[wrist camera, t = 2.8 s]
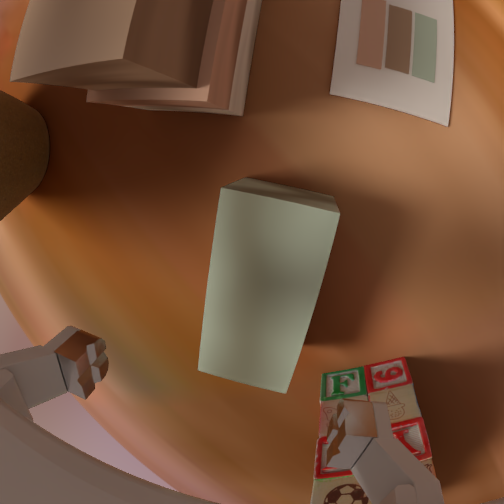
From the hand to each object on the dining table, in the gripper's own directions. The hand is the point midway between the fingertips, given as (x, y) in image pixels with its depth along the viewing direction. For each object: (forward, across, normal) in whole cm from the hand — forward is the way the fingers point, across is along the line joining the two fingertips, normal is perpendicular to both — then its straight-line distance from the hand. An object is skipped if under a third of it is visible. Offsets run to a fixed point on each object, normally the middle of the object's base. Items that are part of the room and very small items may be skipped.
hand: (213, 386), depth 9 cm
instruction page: (+10, -6, -15) cm, 19 cm away
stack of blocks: (+10, -13, +15) cm, 22 cm away
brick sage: (+10, -1, 0) cm, 10 cm away
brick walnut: (+4, +5, -14) cm, 16 cm away
